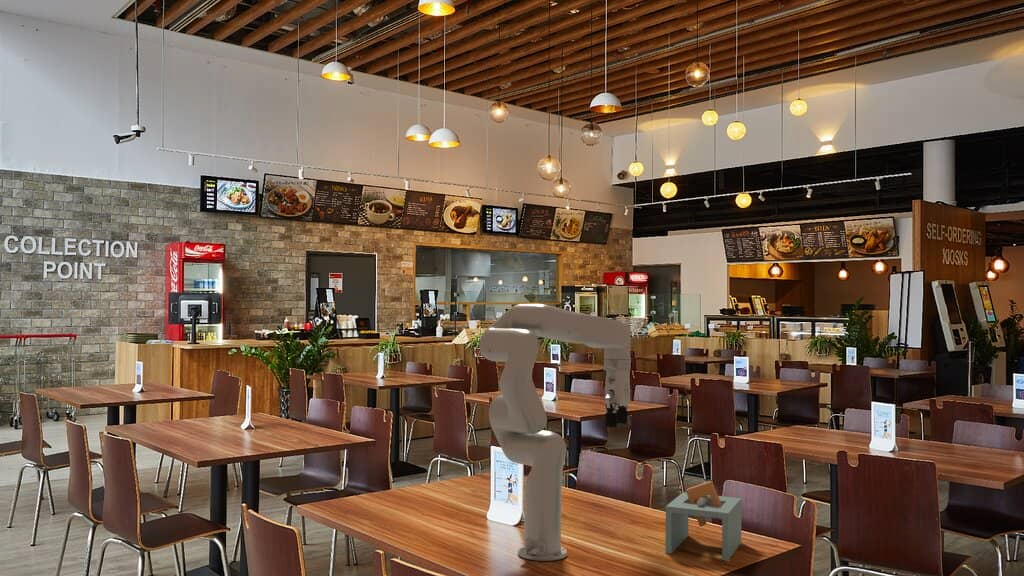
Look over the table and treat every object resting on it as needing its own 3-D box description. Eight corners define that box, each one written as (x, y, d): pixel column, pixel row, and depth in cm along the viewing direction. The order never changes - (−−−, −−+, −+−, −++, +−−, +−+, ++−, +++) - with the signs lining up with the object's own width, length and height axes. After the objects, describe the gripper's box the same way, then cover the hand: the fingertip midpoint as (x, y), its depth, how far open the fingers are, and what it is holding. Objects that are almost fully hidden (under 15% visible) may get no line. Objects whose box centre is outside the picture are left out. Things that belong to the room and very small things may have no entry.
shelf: (728, 561, 201) (728, 506, 202) (665, 552, 208) (665, 500, 208) (741, 542, 219) (741, 492, 220) (683, 535, 226) (683, 486, 226)
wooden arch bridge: (726, 516, 213) (712, 480, 215) (724, 519, 210) (709, 482, 212) (702, 524, 215) (688, 488, 217) (699, 526, 213) (685, 490, 215)
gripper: (620, 367, 221) (620, 429, 220) (638, 364, 236) (637, 422, 236) (594, 366, 224) (594, 427, 223) (613, 363, 240) (613, 421, 239)
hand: (616, 425), depth 229 cm, fingers open, 9 cm apart
